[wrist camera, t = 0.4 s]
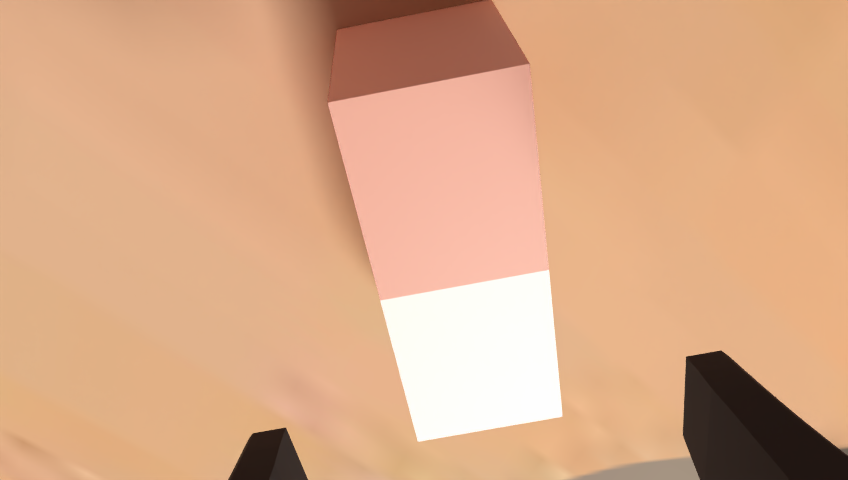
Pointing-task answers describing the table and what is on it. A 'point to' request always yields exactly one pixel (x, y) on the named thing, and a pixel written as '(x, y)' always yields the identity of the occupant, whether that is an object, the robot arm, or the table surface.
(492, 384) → the two-tone block
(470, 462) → the table surface
